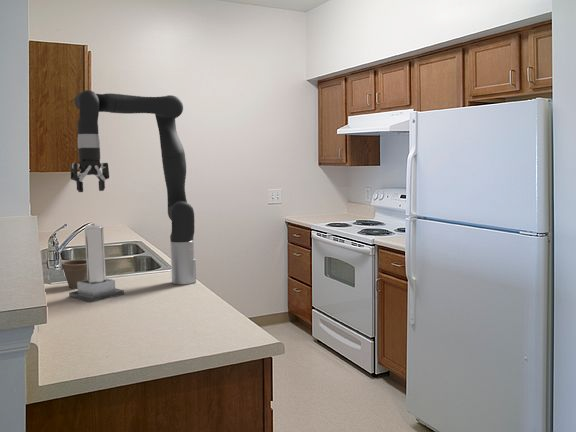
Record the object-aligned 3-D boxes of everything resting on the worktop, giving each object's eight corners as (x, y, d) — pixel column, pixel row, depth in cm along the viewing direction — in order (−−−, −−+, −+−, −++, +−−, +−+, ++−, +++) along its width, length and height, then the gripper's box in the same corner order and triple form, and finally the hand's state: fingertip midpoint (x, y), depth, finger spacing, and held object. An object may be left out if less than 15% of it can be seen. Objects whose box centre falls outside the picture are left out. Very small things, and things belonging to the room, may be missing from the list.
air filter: (106, 292, 199) (103, 225, 197) (87, 294, 197) (84, 226, 195) (106, 288, 205) (103, 223, 203) (88, 290, 203) (84, 224, 201)
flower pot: (99, 284, 220) (98, 259, 219) (80, 290, 209) (79, 265, 208) (75, 282, 224) (74, 258, 223) (56, 289, 213) (55, 263, 212)
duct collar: (102, 289, 211) (101, 275, 210) (124, 294, 203) (123, 279, 202) (69, 296, 200) (68, 282, 199) (90, 302, 191) (90, 286, 191)
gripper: (100, 147, 204) (102, 190, 205) (65, 147, 192) (67, 192, 194) (112, 147, 199) (114, 190, 201) (76, 146, 188) (79, 192, 189)
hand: (91, 191), depth 197 cm, fingers open, 8 cm apart
